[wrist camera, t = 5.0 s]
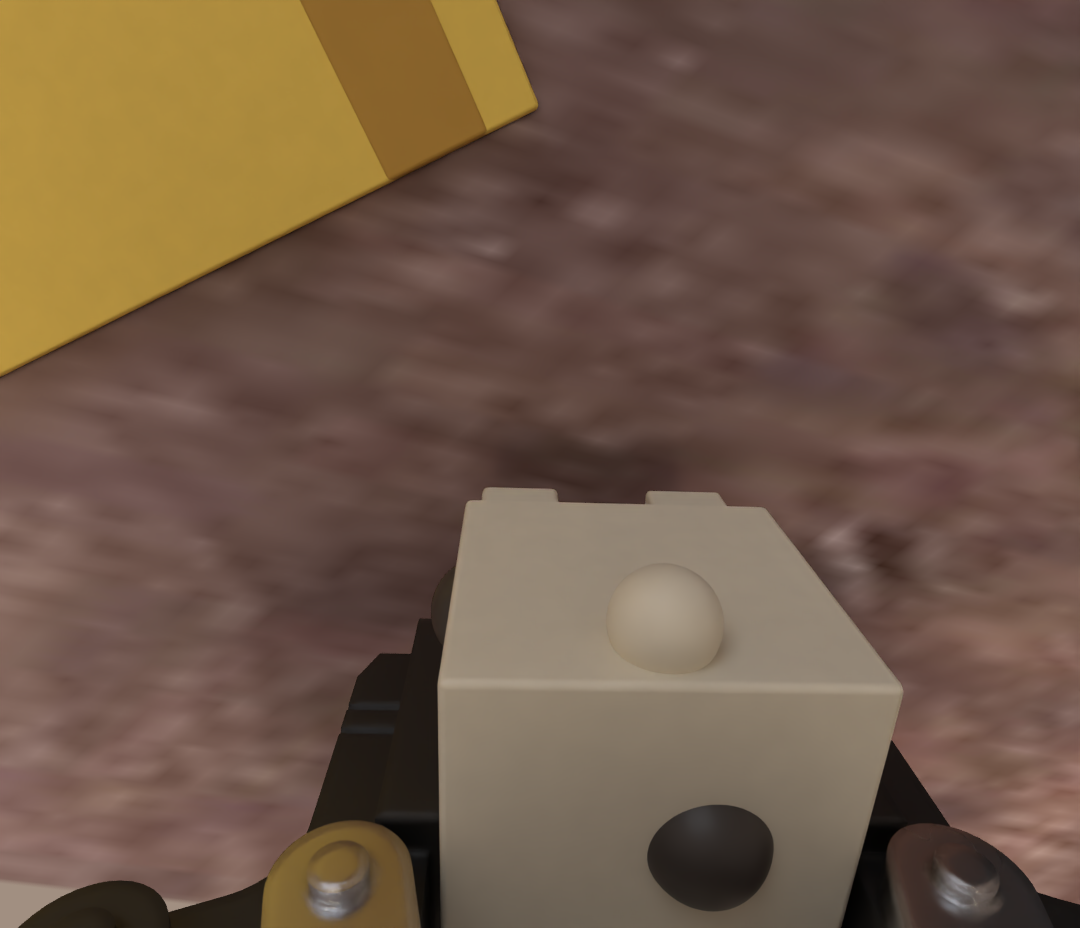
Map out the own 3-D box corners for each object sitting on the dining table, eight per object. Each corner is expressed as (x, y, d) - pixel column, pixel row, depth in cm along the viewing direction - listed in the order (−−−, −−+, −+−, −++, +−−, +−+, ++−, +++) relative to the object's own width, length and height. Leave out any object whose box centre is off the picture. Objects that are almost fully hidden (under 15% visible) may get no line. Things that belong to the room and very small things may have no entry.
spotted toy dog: (451, 408, 10) (306, 919, 3) (761, 417, 10) (1286, 917, 3) (453, 864, 13) (381, 1639, 6) (690, 864, 14) (884, 1616, 6)
